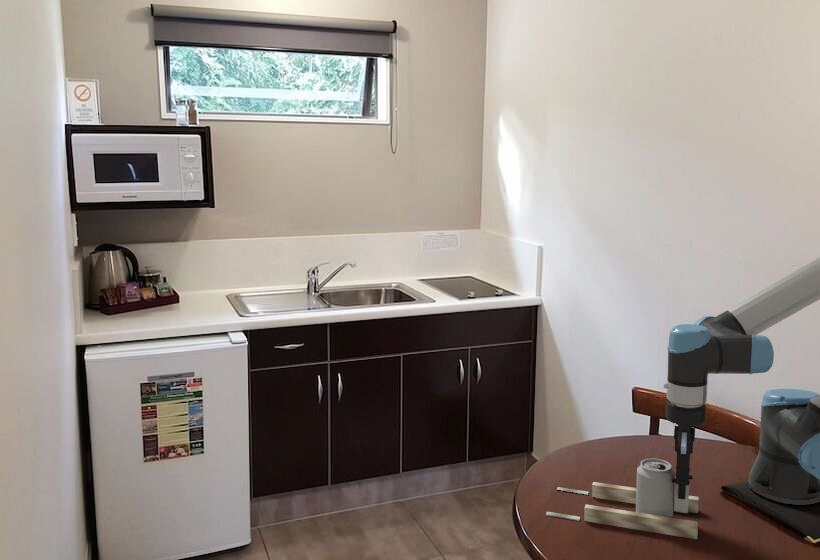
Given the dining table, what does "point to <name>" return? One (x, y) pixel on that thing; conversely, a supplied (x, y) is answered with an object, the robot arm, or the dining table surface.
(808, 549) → the dining table surface
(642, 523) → the chute
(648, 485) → the can
